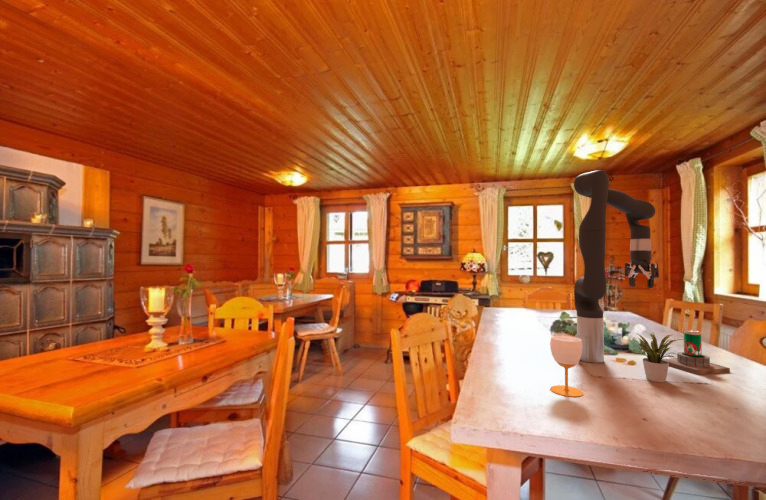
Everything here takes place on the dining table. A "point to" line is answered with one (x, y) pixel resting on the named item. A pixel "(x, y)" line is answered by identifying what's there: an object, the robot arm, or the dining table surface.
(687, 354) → the soda can
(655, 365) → the house plant
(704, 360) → the can holder
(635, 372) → the dining table surface
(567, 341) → the cup
